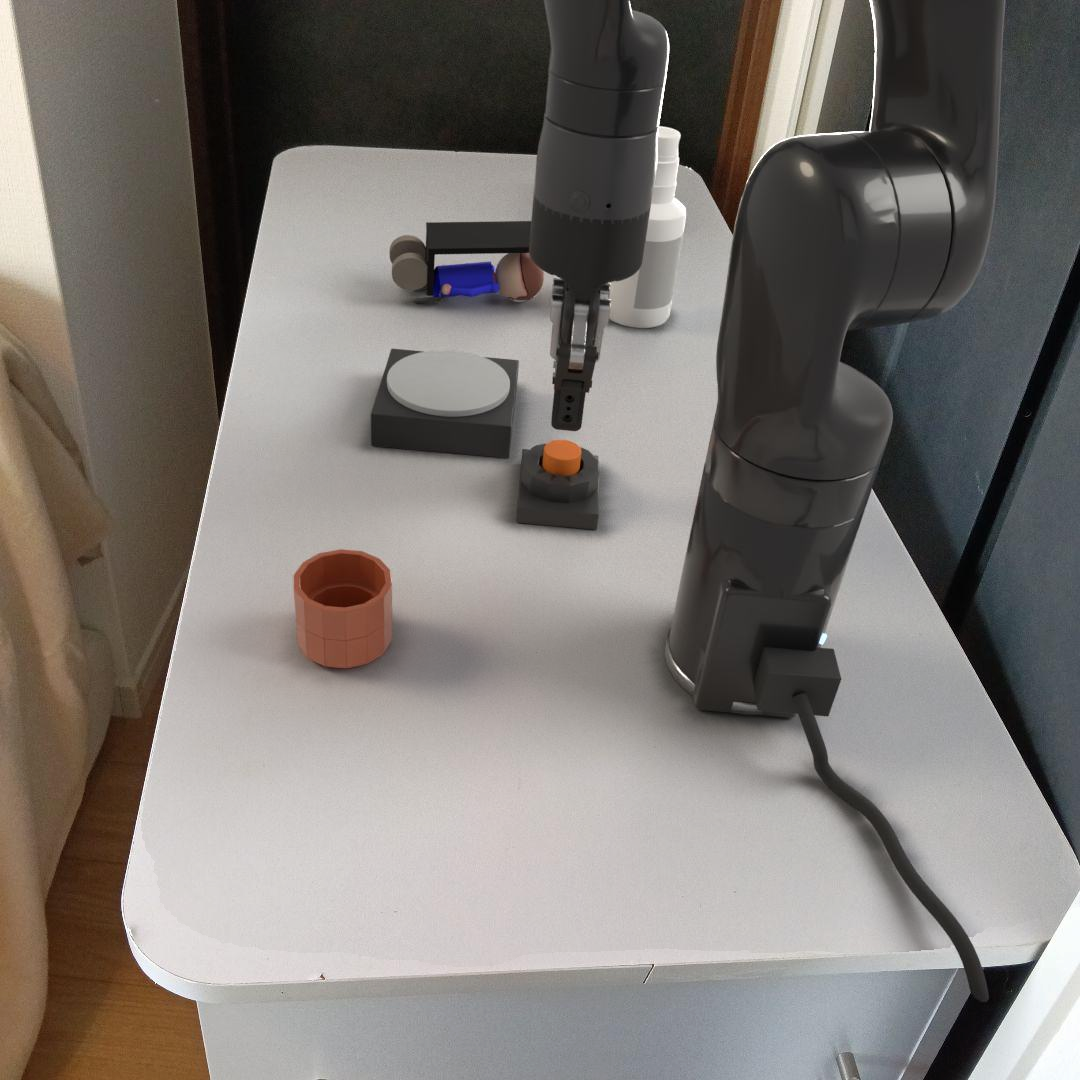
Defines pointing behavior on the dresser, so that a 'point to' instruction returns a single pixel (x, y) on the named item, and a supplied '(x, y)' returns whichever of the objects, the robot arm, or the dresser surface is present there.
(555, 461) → the button
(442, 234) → the figurine character
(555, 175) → the robot arm
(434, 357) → the scale
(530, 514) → the dark grey squat piece
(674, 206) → the white bottle
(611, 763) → the dresser surface
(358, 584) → the orange cup
